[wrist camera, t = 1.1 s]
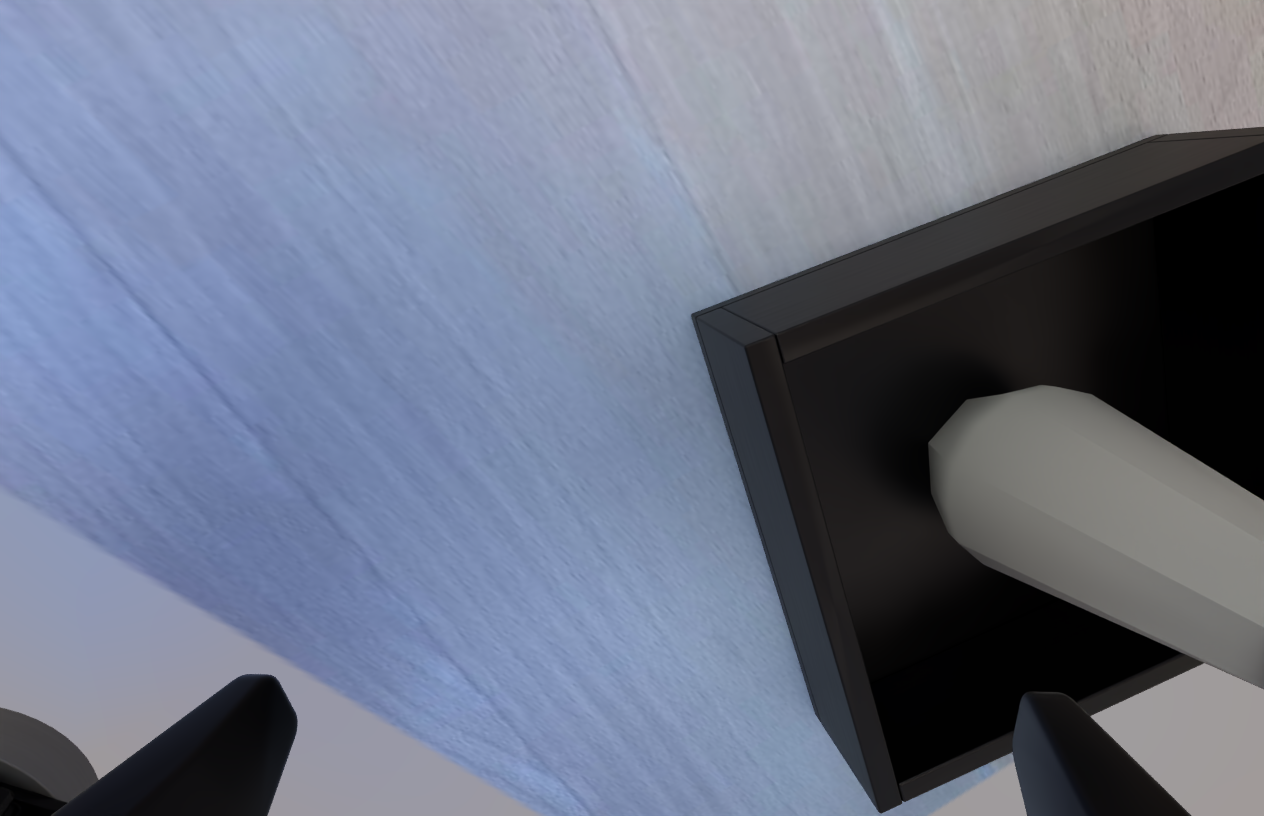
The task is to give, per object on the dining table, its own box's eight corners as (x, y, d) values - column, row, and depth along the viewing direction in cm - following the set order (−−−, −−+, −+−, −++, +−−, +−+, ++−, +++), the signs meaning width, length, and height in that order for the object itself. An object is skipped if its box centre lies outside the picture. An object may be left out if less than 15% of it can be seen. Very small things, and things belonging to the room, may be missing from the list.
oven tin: (815, 714, 26) (880, 815, 22) (690, 313, 21) (744, 346, 17) (1184, 549, 28) (1312, 614, 23) (1155, 134, 22) (1313, 123, 18)
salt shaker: (916, 367, 22) (1440, 585, 10) (1074, 364, 24) (1714, 556, 11) (890, 539, 24) (1314, 900, 12) (1039, 528, 25) (1564, 847, 13)
